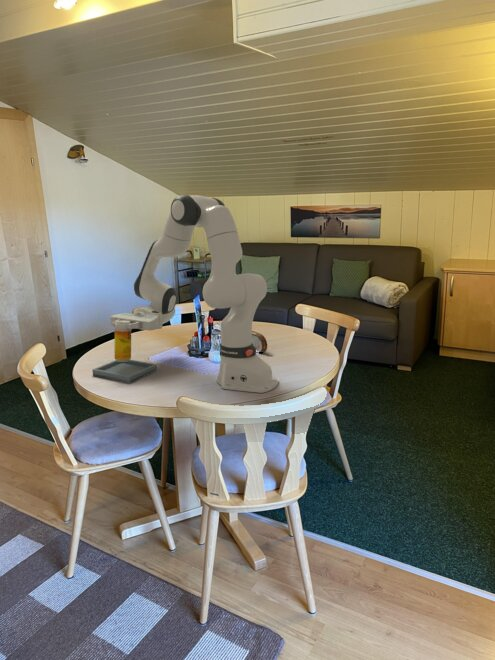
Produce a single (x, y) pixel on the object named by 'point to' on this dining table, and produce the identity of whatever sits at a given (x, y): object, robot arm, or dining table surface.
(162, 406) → the dining table surface
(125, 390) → the dining table surface
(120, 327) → the beer can
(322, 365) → the dining table surface
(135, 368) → the tray
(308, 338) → the dining table surface
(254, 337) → the tin
